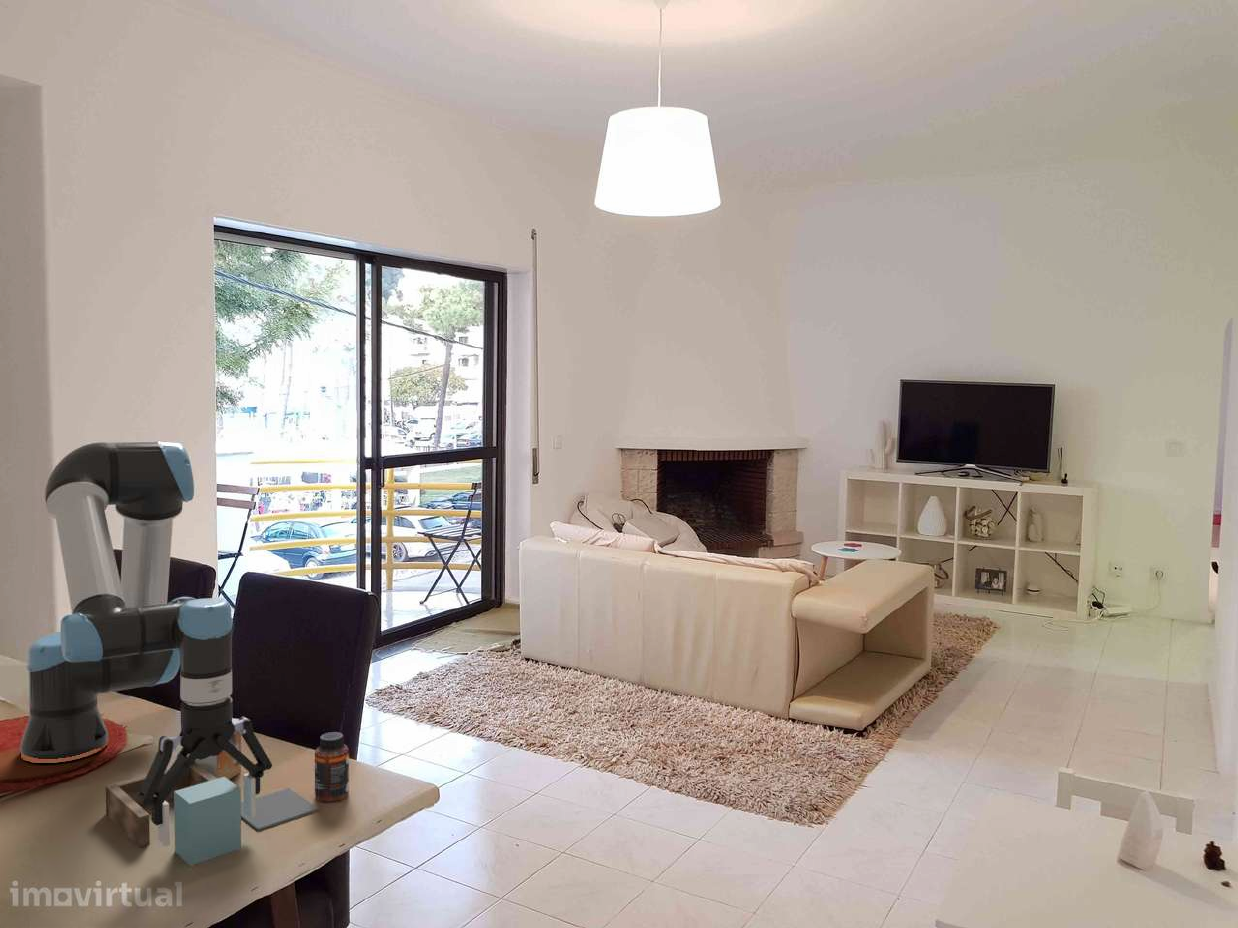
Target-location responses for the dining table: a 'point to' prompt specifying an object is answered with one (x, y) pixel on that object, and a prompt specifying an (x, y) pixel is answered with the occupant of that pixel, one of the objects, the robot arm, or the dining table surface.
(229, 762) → the small box
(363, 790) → the dining table surface
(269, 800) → the mat
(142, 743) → the dining table surface
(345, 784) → the supplement bottle
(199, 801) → the block
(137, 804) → the frame
